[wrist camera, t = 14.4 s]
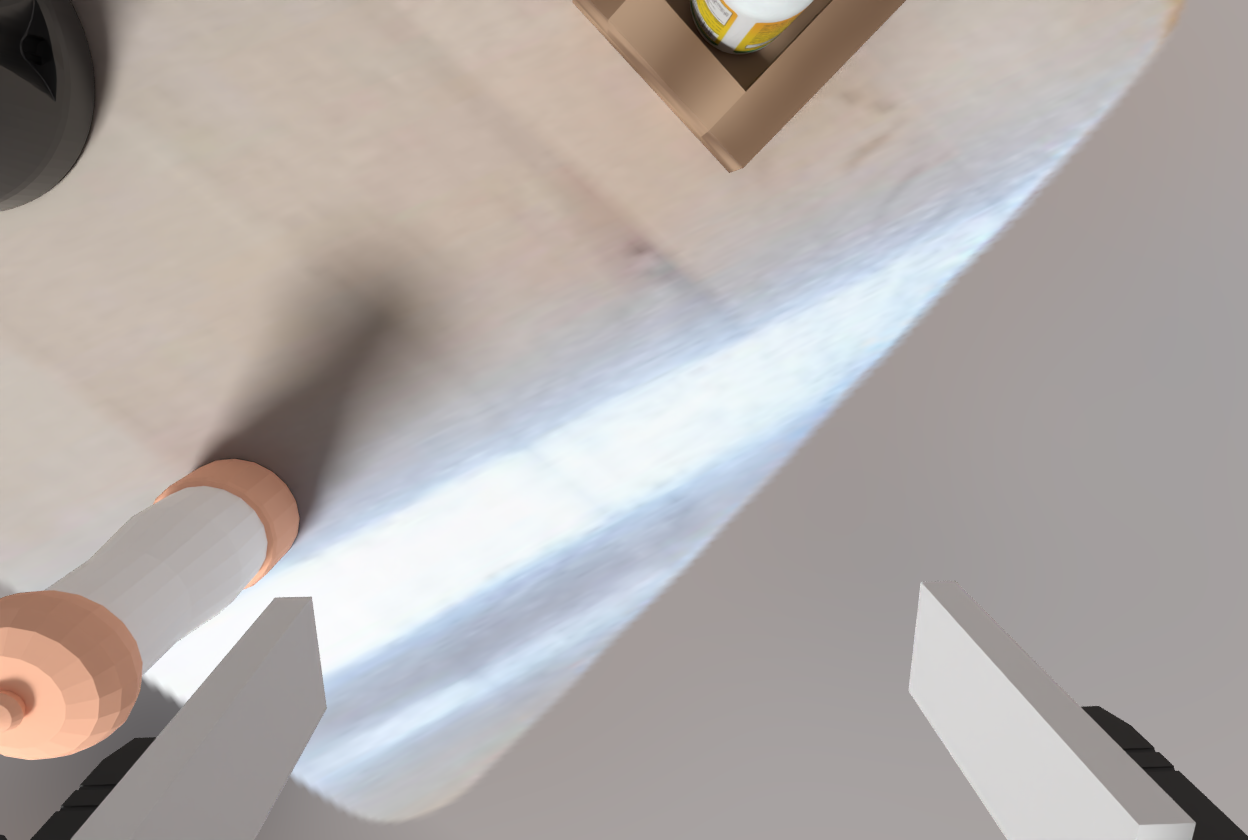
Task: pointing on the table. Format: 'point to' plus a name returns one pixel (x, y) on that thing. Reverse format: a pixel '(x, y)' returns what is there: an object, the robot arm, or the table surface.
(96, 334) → the table surface
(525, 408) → the table surface
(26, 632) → the pepper shaker
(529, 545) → the table surface
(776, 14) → the supplement bottle
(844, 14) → the socket block
